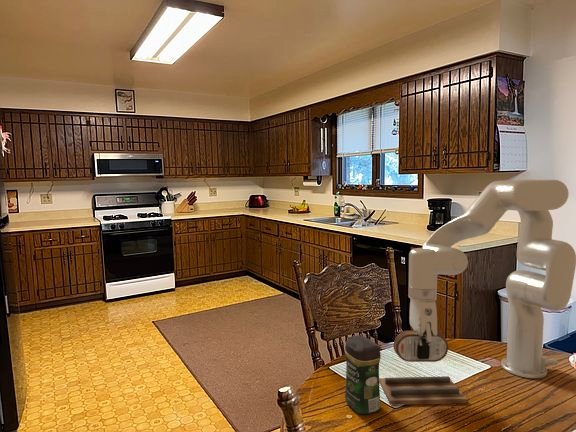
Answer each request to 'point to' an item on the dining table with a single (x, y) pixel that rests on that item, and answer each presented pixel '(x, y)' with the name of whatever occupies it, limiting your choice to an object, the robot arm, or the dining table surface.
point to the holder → (421, 390)
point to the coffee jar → (362, 374)
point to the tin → (410, 339)
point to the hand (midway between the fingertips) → (421, 355)
